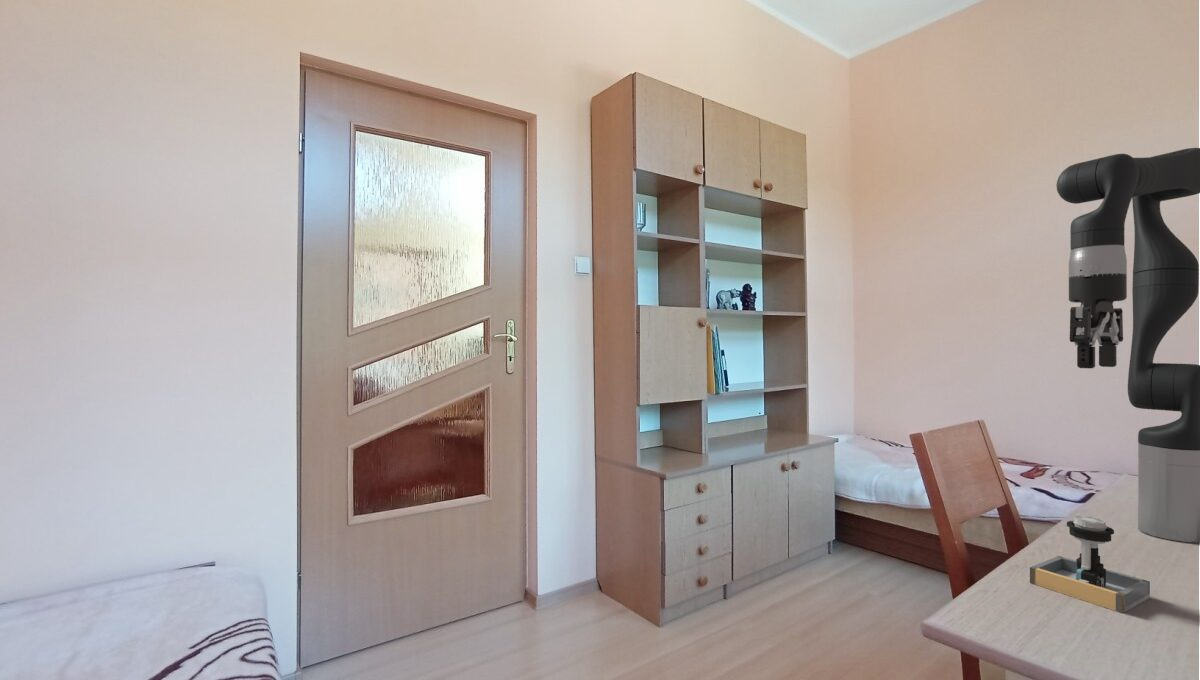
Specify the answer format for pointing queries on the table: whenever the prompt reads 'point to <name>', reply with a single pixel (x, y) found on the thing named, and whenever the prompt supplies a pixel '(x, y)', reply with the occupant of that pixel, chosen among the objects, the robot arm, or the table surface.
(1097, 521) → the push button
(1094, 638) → the table surface
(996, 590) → the table surface
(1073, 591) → the tray
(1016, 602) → the table surface
